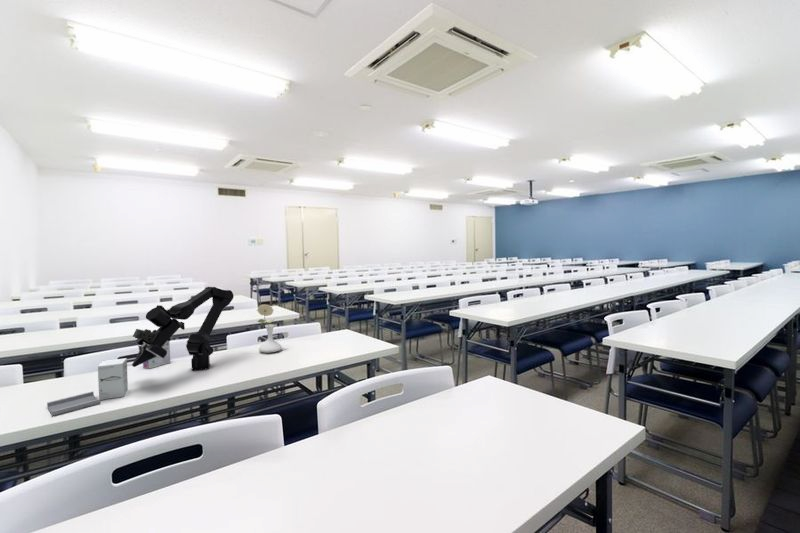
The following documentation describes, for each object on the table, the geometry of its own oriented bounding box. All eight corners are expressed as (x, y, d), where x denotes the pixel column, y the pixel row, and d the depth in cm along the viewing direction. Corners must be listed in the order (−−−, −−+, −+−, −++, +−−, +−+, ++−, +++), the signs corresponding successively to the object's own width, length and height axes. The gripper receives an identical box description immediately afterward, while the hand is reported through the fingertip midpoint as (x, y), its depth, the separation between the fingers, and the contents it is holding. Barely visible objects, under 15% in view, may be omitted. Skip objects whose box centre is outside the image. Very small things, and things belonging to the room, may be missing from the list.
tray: (93, 395, 130) (92, 391, 130) (100, 403, 123) (100, 399, 123) (47, 407, 120) (47, 402, 120) (52, 416, 113) (52, 411, 113)
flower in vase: (286, 349, 189) (285, 303, 187) (273, 355, 178) (272, 306, 176) (264, 347, 192) (263, 302, 190) (251, 353, 181) (250, 305, 179)
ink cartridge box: (164, 361, 169) (163, 331, 168) (171, 362, 166) (170, 332, 166) (141, 367, 160) (140, 336, 159) (148, 369, 158) (147, 337, 157)
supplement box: (98, 401, 125) (96, 366, 124) (104, 393, 132) (102, 360, 131) (124, 396, 128) (122, 363, 128) (128, 389, 135) (127, 357, 134)
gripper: (140, 317, 143) (106, 350, 135) (156, 323, 132) (121, 360, 124) (163, 333, 150) (132, 365, 142) (180, 340, 138) (148, 375, 130)
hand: (133, 366), depth 134 cm, fingers closed
